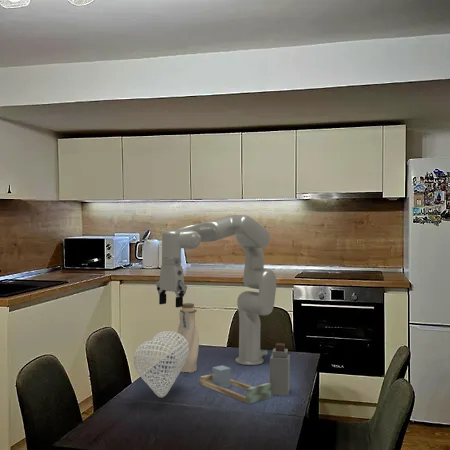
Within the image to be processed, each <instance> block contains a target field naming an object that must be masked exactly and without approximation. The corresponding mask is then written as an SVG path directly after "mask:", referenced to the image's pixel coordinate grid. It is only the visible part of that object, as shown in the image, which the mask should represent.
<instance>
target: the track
mask: <svg viewBox="0 0 450 450" xmlns="http://www.w3.org/2000/svg"><path fill="white" fill-rule="evenodd" d="M199 385H200V386H203V387H205V388H207V389H210V390H212V391H214V392H215V391H216V392H218V393H221V394H223V395H226V396H228V397H230V398H233V399H235V400H238V401H241V402H244V403H246V404H248V405H249V404H253V403H256V402H260V401H263V400H267V399H270V398H272V395H271V383H270V382H267V383H262V384H259V385H249V384H247V383H244V382H241V381H238V380H236V379H232V378H231V385H232V386H235V387H237V388H240V389H243V390H245V395H243V394H241V393H238V392H235V391H233V390H231V389H228V388H223V387H220V386H218V385H215V384H212V373H209V374H205V375H201V376H199Z"/></svg>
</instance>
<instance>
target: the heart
mask: <svg viewBox="0 0 450 450" xmlns="http://www.w3.org/2000/svg"><path fill="white" fill-rule="evenodd" d="M178 337H179V339H178ZM181 338H182V339H181ZM183 340H184V341H183ZM178 341H179V342H180V344H179V343H178ZM181 341H182V343H181ZM186 342H187V340H186V339H185V338H184V337H183V336H182V335H181V334H179V333H178V332H176V331H172V330H165V331H161V332H159V333H156V334H155V335H154V336H153V337H152V338H151V339H149V340H145V342H142V343H141V344H140V345H139V346H138V347H137V348H136V349H135V352H134V354H133V364H134V369H135V370H136V373H137V374H138V375H139V377H140V378H141V379H142V380H143V381H144V382H145V383H146V384H147V386H148V387H149V388H150V389H151V391H153V393H154V394H155V395H156V396H157V397H158V398H165V396H167V394H168V393H169V392H170V390H171V388H172V387H173V385H174V383H175V382H176V380H177V378H178V376H179V375H180V373H181V372H180V371H181V370H182V368H183V366H184V364H185V363H186V360H187V358H188V355H189V344H188V342H187V343H186ZM183 343H184V346H183ZM181 346H182V348H181ZM186 346H187V348H186ZM179 347H180V349H181V350H180V349H179ZM184 348H185V349H186V351H185V349H184ZM183 349H184V351H183ZM187 351H188V353H187ZM169 352H170V353H169ZM181 352H182V354H181ZM183 352H184V353H183ZM180 354H181V356H180ZM184 356H185V357H184ZM171 357H172V358H171ZM182 357H183V359H182ZM185 359H186V360H185ZM167 362H168V363H167ZM170 362H171V363H170ZM162 366H163V367H162ZM180 366H181V367H180Z"/></svg>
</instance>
